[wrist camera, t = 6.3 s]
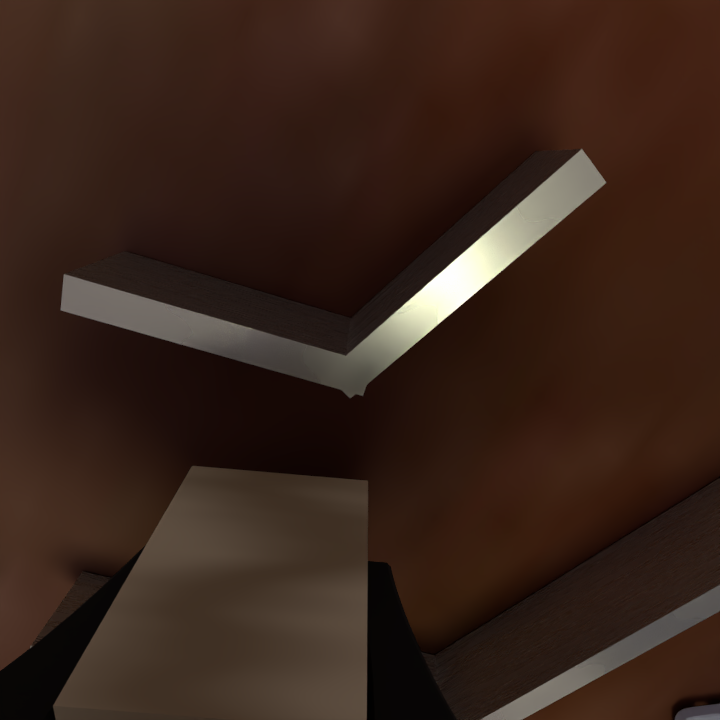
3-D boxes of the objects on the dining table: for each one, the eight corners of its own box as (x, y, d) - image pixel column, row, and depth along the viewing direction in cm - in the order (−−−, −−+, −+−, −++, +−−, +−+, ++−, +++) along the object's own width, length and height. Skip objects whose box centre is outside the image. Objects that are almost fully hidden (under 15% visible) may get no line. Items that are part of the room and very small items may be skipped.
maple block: (367, 480, 13) (366, 730, 7) (353, 611, 14) (342, 898, 9) (192, 466, 13) (53, 705, 7) (197, 599, 14) (86, 880, 9)
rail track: (802, 86, 11) (931, 64, 9) (764, 628, 17) (834, 712, 15) (-81, 301, 14) (-187, 334, 11) (151, 716, 19) (118, 802, 17)
